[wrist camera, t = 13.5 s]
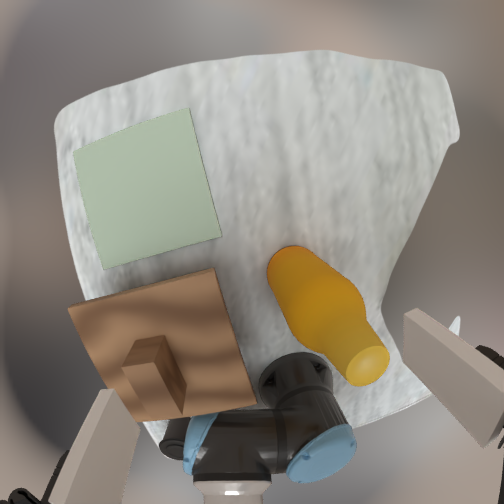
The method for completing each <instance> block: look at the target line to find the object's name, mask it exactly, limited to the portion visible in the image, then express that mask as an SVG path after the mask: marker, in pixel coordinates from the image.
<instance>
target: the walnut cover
mask: <svg viewBox="0 0 504 504" xmlns="http://www.w3.org/2000/svg"><path fill="white" fill-rule="evenodd" d="M68 311H69V314H70V316H71V318H72V321H73V323H74V325H75V327H76V329H77V331H78V334H79V336H80V338H81V340H82V342H83V344H84V346H85V348H86V350H87V352H88V354H89V356H90V358H91V359H92V361H93V363H94V365H95V367H96V368H97V370H98V372H99V374H100V376H101V377H102V379H103V381H104V383H105V384H106V386H107V388H108V389H113V388H114V389H115V391H116V392H117V394H118V396H119V397H120V399H121V400H122V402H123V404H124V405H125V407H126V408H127V410H128V411H129V413H130V414H131V416H132V417H133V419H134V420H135V422H145V421H157V420H167V419H175V418H183V417H191V416H197V415H204V414H210V413H216V412H221V411H226V410H231V409H236V408H241V407H246V406H250V405H254V404H257V400H256V396H255V393H254V390H253V387H252V384H251V381H250V378H249V376H248V373H247V370H246V367H245V364H244V361H243V358H242V355H241V352H240V349H239V346H238V343H237V340H236V337H235V333H234V330H233V327H232V324H231V321H230V318H229V315H228V311H227V308H226V305H225V302H224V299H223V295H222V292H221V289H220V285H219V282H218V279H217V275H216V272H215V269H214V268H210V269H206V270H203V271H199V272H195V273H191V274H187V275H184V276H180V277H176V278H172V279H168V280H164V281H161V282H157V283H153V284H149V285H145V286H142V287H138V288H134V289H130V290H126V291H122V292H118V293H115V294H111V295H107V296H103V297H99V298H95V299H91V300H87V301H84V302H80V303H76V304H72V305H71V306H70V307H69V308H68Z"/></svg>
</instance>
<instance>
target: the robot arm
mask: <svg viewBox="0 0 504 504" xmlns="http://www.w3.org/2000/svg"><path fill="white" fill-rule="evenodd" d="M403 363H404V364H405V365H406V366H407V367H408V368H409V369H410V370H411V371H412V372H413V373H414V374H415V375H416V376H417V377H418V378H419V379H420V380H421V381H422V382H423V383H424V385H425V386H426V387H427V388H428V389H429V390H430V391H431V392H432V393H433V394H434V395H435V396H436V397H437V398H438V399H439V401H440V402H441V403H442V404H443V405H444V406H445V407H446V408H447V409H448V410H449V411H450V412H451V414H452V415H453V416H454V417H455V418H456V419H457V420H458V421H459V422H460V423H461V425H462V426H463V427H464V428H465V429H466V430H467V431H468V432H469V433H470V435H471V436H472V437H473V438H474V439H475V440H476V441H477V443H478V444H479V445H480V446H481V447H482V448H483V449H484V448H486V446H488V445H489V444H490V443H491V442H493V441H494V440H495V439H496V438H497V437H498V435H499V434H500V432H501V430H502V428H504V358H503V357H502V356H499V354H498V353H497V352H495V351H494V350H492V349H491V348H488V347H485V346H482V345H479V346H477V347H476V348H474V347H472V346H471V345H469V344H468V343H467V342H465V341H464V340H462V339H461V338H460V337H458V336H457V335H456V334H454V333H453V332H451V331H450V330H449V329H447V328H446V327H444V326H443V325H441V324H440V323H439V322H437V321H435V320H434V319H433V318H431V317H430V316H428V315H427V314H425V313H424V312H422V311H421V310H419V309H418V308H416V309H413V310H411V311H409V312H407V313H405V314H404V345H403ZM259 390H260V395H261V398H262V400H263V402H264V404H265V405H266V406H267V407H268V409H259V410H226V411H221V412H216V413H210V414H204V415H197V416H192V418H191V420H190V422H189V425H188V429H187V433H186V437H185V443H184V451H183V455H184V457H183V469H184V472H185V473H187V474H189V475H193V484H194V486H196V487H197V488H198V489H199V490H200V491H201V492H202V493H203V495H204V504H263V497H262V494H263V492H264V491H265V490H266V489H267V488H268V487H269V486H270V485H271V484H272V481H271V474H278V473H286V475H287V476H288V477H289V479H290V480H292V481H293V482H298V483H310V482H315V481H318V480H321V479H324V478H326V477H328V476H330V475H332V474H334V473H335V472H337V471H338V470H340V469H341V468H343V467H344V466H345V465H346V464H347V463H348V462H349V461H350V460H351V459H352V457H353V456H354V454H355V451H356V448H357V443H356V440H355V437H354V434H353V432H352V427H351V426H350V425H349V424H348V422H347V420H346V418H345V416H344V414H343V412H342V410H341V409H340V407H339V405H338V403H337V401H336V399H335V397H334V395H333V377H332V373H331V370H330V369H329V367H328V365H327V363H326V362H325V361H324V360H323V359H322V358H320V357H319V356H317V355H314V354H310V353H294V354H289V355H286V356H283V357H281V358H279V359H277V360H276V361H274V362H273V363H271V364H270V365H269V366H268V367H267V368H266V369H265V371H264V372H263V374H262V376H261V378H260V381H259ZM139 433H140V427H139V426H138V425H137V423H136V422H135V420H134V419H133V417H132V416H131V414H130V413H129V411H128V410H127V408H126V407H125V405H124V404H123V402H122V400H121V399H120V397H119V396H118V394H117V392H116V391H115V389H114V388H113V389H103V390H100V392H99V394H98V396H97V398H96V400H95V402H94V404H93V405H92V407H91V410H90V411H89V413H88V415H87V417H86V419H85V421H84V423H83V425H82V427H81V429H80V431H79V433H78V435H77V438H76V439H75V441H74V443H73V445H72V448H71V450H67V451H66V452H65V454H63V456H62V457H61V458H60V460H59V462H58V464H57V466H56V467H57V468H56V469H55V471H54V473H53V476H52V477H51V479H50V482H49V484H48V486H47V488H46V491H45V493H44V495H43V498H42V500H41V501H39V500H38V499H37V498H36V497H35V496H33V495H32V494H31V493H30V492H29V491H27V490H26V489H24V488H18V489H15V490H14V491H12V493H11V494H10V496H9V498H8V502H7V501H6V500H0V504H121V501H122V497H123V493H124V489H125V485H126V481H127V477H128V473H129V469H130V465H131V461H132V458H133V454H134V451H135V447H136V443H137V440H138V436H139ZM503 443H504V436H503V438H502V440H501V441H500V443H499V445H498V449H500V448H501V446H502V445H503ZM498 504H504V460H503V471H502V481H501V487H500V494H499V500H498Z"/></svg>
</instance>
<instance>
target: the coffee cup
mask: <svg viewBox="0 0 504 504" xmlns="http://www.w3.org/2000/svg"><path fill="white" fill-rule="evenodd" d="M190 420H191V418H190V417H183V418H175V419H170V422H169V424H168V427H167V430H166V433H165V435H164V438H163V440H162V441H161V442H160V443H159V448H160V450H161V452H162V453H163V454H164V455H166V456H167V457H169V458H172V459H175V460H183V457H184V455H183V451H184V443H185V437H186V433H187V429H188V425H189V422H190Z"/></svg>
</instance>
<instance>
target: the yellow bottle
mask: <svg viewBox="0 0 504 504" xmlns="http://www.w3.org/2000/svg"><path fill="white" fill-rule="evenodd" d="M267 279H268V283H269V285H270V287H271V289H272V291H273V293H274V295H275V297H276V299H277V302H278V304H279V306H280V308H281V310H282V312H283V315H284V317H285V319H286V321H287V324H288V326H289V328H290V330H291V332H292V334H293V335H294V336H295V337H296V339H297V340H298V341H299V342H300V343H301V344H303V345H304V346H305V347H307V348H309V349H311V350H313V351H315V352H318V353H321V354H324V355H325V356H326V357H327V358H328V359H329V360H330V362H331V363H332V364H333V365H334V366H335V368H336V369H337V370H338V371H339V372H340V373H341V375H342V376H343V377H344V378H345V379H346V380H347V381H348V382H349V383H350V384H351V385H353V386H366V385H368V384H371V383H373V382H374V381H376V380H377V379H378V378H380V377H381V376H382V374H383V373H384V372H385V371H386V369H387V367H388V364H389V361H390V355H389V352H388V350H387V349H386V347H385V346H384V344H383V343H382V341H381V340H380V338H379V337H378V335H377V334H376V333H375V331H374V330H373V329H372V327H371V326H370V324H369V323H368V321H367V320H366V309H365V304H364V301H363V298H362V296H361V294H360V293H359V291H358V289H357V288H356V287H355V286H354V285H353V284H352V282H351V281H349V280H348V279H347V278H345V277H344V276H342V275H341V274H340V273H339V272H337V271H336V270H335V269H333V268H332V267H331V266H329V265H328V264H327V263H325V262H324V261H323V260H321V259H320V258H319V257H317V256H316V255H315V254H314V253H313V252H311V251H310V250H308V249H306V248H304V247H300V246H289V247H286V248H283V249H281V250H280V251H278V252H277V253H276V254H275V255H274V256H273V257H272V258H271V260H270V262H269V265H268V268H267Z"/></svg>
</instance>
